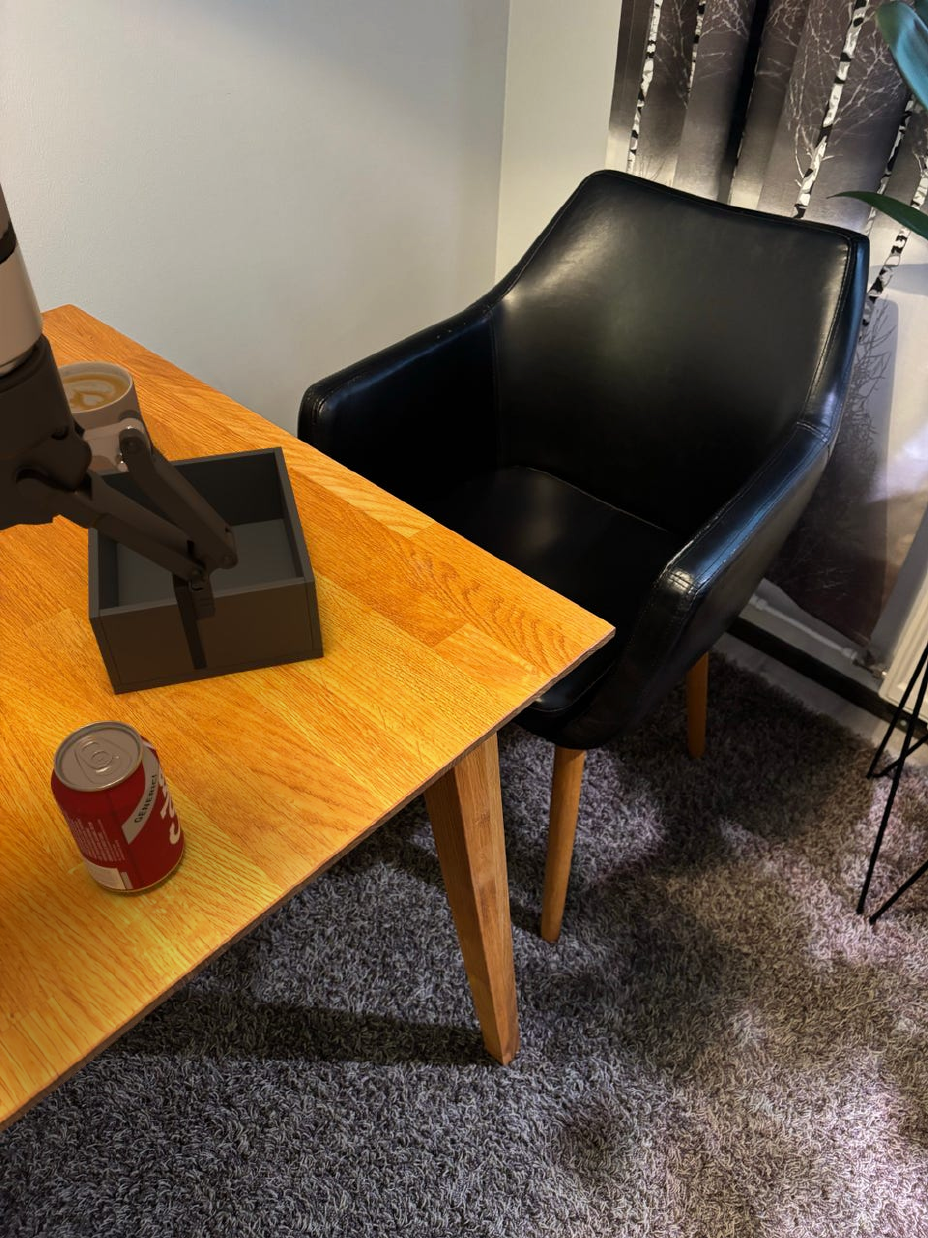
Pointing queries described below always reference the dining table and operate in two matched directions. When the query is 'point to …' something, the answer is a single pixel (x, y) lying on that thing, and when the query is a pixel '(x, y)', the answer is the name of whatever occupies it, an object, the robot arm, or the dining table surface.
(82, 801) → the soda can
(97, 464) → the coffee mug
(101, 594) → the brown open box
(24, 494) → the robot arm
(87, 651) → the dining table surface
